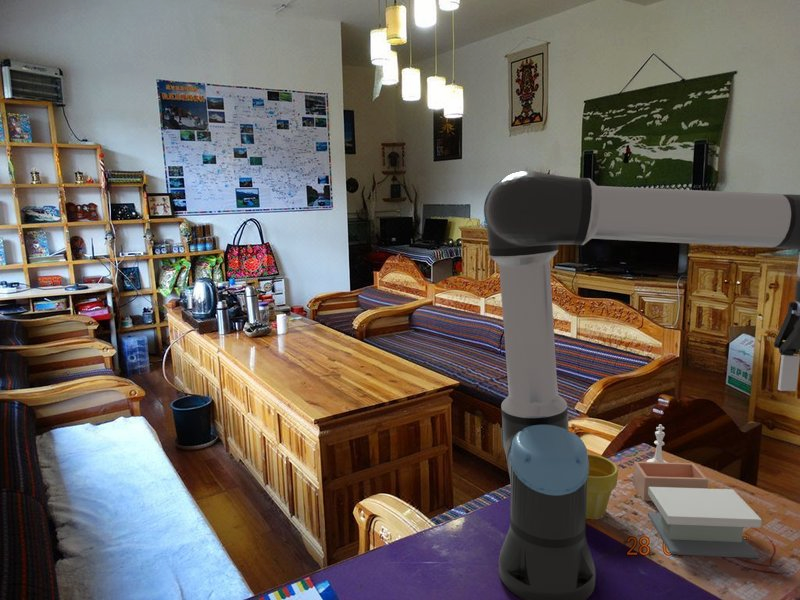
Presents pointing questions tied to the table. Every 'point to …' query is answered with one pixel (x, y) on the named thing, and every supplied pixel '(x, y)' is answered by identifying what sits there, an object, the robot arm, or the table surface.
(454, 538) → the table surface
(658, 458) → the chess piece
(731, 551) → the stand
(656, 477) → the open box
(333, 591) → the table surface
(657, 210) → the robot arm
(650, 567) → the table surface
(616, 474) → the plant pot
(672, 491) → the board
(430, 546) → the table surface
